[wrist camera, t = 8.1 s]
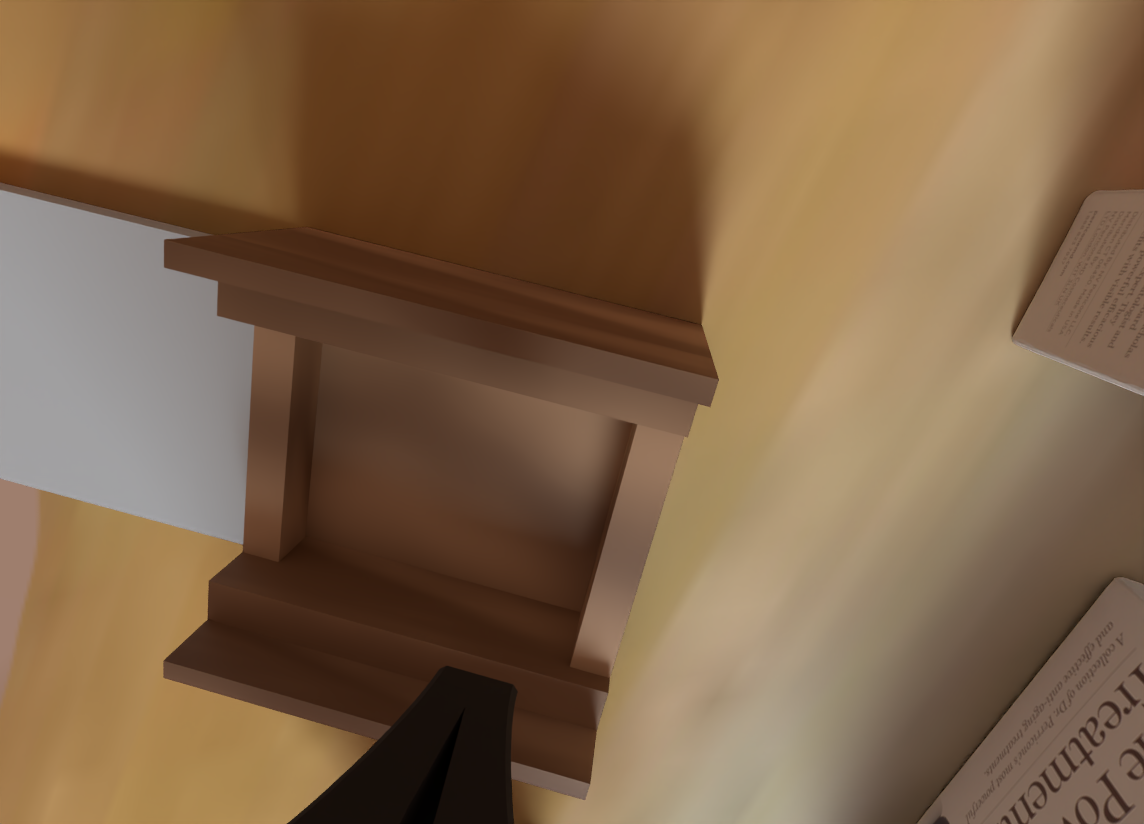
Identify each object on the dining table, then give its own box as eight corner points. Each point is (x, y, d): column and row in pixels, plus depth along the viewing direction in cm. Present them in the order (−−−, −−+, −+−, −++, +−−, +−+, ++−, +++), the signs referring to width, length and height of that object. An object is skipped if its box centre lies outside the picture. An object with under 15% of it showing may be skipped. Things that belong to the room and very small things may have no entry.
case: (603, 653, 22) (584, 799, 17) (281, 564, 23) (163, 677, 18) (701, 324, 18) (718, 379, 13) (307, 227, 19) (164, 239, 14)
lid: (289, 529, 23) (265, 550, 22) (35, 460, 24) (-4, 477, 22) (309, 254, 20) (282, 259, 18) (12, 181, 20) (-36, 181, 19)
